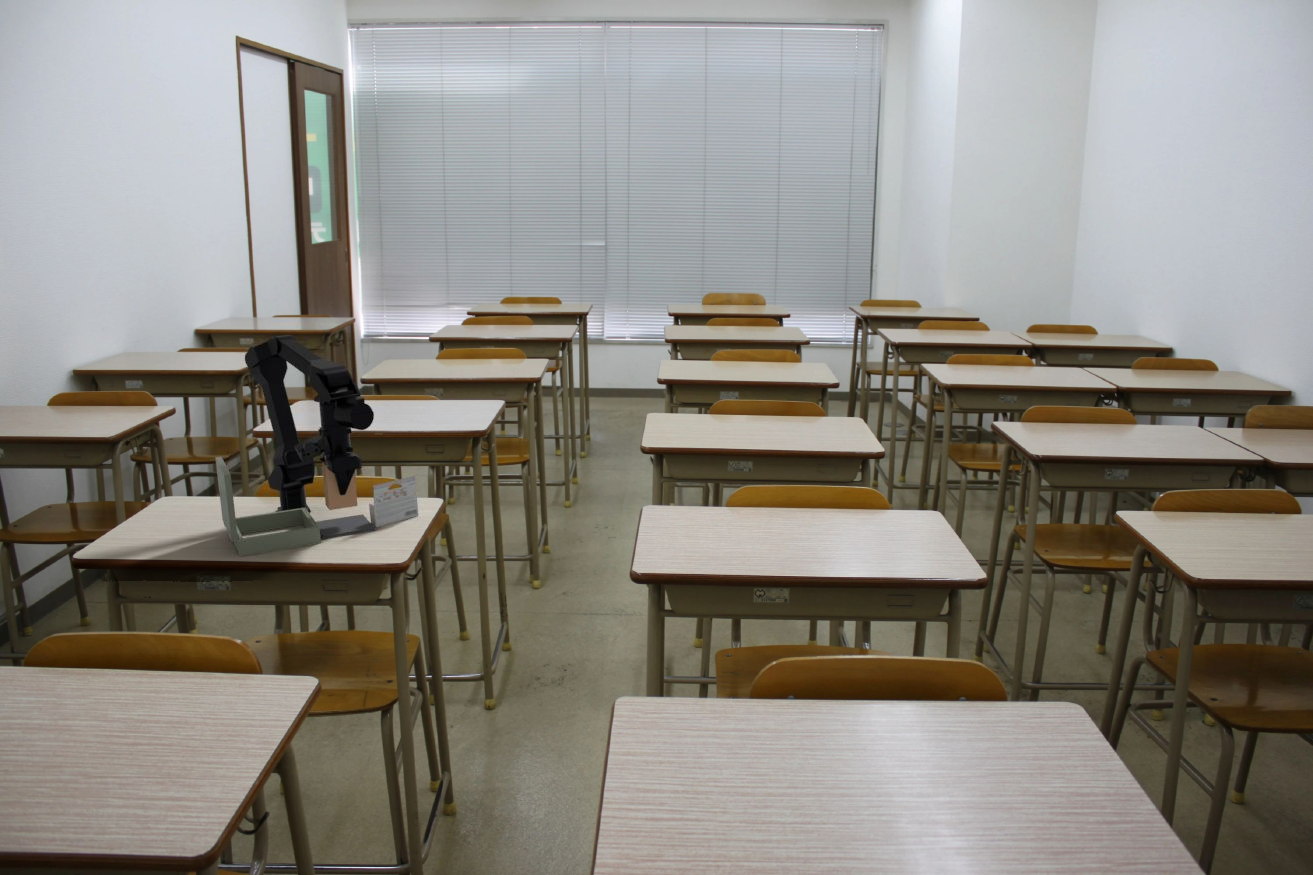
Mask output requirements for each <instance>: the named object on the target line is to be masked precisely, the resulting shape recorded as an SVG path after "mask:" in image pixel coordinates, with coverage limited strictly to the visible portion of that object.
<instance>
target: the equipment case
mask: <svg viewBox="0 0 1313 875" xmlns="http://www.w3.org/2000/svg"><path fill="white" fill-rule="evenodd" d="M214 458H215V466H216V467H215V468H216V474H217V483H218V491H219V501H220V510H221V518H222V521H223V526H224V527H225V529H226V531H227V533H228V536H229V540H230V541H231V542H233V544H234V546H235V549H236V550H237V553H238V555H239V557H246V556H251V555H256V554H257V555H258V554H263V553H269V552H274V551H275V552H276V551H281V550H287V548H288V549H294V548H299V547H304V546H310V545H317V544H321V543H322V540H321V538H322V537H321V535H320V527H319V526H318V525H317V523H316V522H317V521H316V520H315V519H314V517H313V516H312V515H311V512H308V511H307V509H306V508H299V509H292V510H285V511H278V510H277V511H273V512H266V513H259V514H252V515H245V516H239V517H236V511H235V503H234V502H235V501H234V493H233V485H232V476H231V472H230V471H229V469H228V468H229V467H227V465H226V463H225V461H224V459H223V457H222V456H217V457H214ZM300 525H302V526H304V527H302V528H298V529H291V530H286V531H280V532H278V531H277V532H272V533H266V534H260V535H254V536H248V537H243V536H242V535H243V534H249V533H255V532H261V531H268V530H274V529H281V528H288V527H292V526H293V527H294V526H300Z"/></svg>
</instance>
